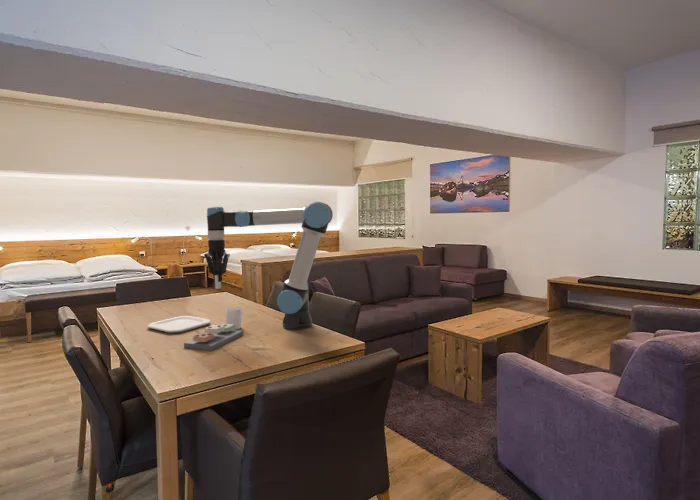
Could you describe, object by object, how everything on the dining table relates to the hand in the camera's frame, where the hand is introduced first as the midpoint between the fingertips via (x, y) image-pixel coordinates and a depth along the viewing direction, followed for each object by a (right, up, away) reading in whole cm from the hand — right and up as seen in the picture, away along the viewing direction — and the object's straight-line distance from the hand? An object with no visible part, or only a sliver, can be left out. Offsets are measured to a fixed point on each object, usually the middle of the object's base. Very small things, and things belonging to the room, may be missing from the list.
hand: (218, 288), depth 199 cm
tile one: (+5, -19, -4) cm, 20 cm away
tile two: (+2, -18, -12) cm, 22 cm away
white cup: (+5, -21, +10) cm, 24 cm away
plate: (-24, -21, +14) cm, 35 cm away
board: (+2, -23, -12) cm, 26 cm away
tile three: (0, -21, -19) cm, 28 cm away
